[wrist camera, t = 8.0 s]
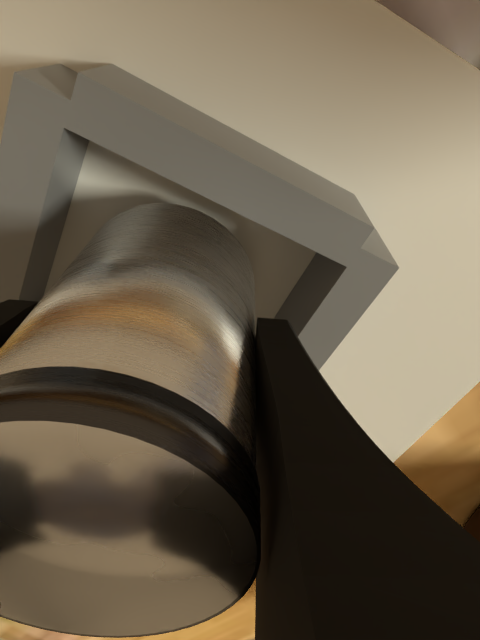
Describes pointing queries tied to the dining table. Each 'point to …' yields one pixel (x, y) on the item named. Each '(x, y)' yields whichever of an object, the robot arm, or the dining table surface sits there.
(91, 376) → the lens
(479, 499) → the dining table surface
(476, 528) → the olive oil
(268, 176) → the mount plate
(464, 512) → the dining table surface
